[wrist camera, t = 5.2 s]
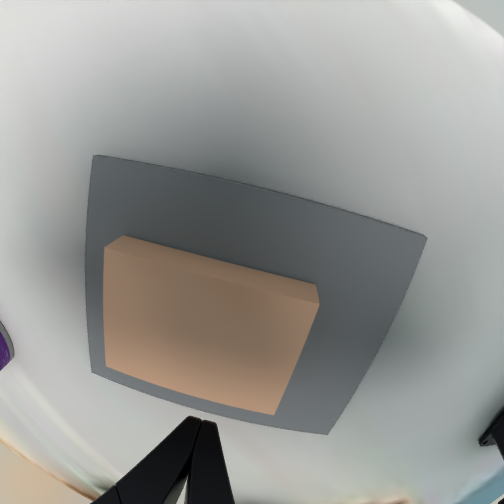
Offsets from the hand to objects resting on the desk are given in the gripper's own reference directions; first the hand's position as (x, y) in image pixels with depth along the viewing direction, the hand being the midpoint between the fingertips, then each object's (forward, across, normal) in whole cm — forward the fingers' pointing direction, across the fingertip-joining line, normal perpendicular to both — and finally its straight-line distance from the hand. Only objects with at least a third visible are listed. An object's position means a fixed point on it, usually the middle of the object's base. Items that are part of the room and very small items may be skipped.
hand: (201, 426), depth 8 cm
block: (+5, -3, 0) cm, 5 cm away
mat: (+6, 0, 0) cm, 6 cm away
